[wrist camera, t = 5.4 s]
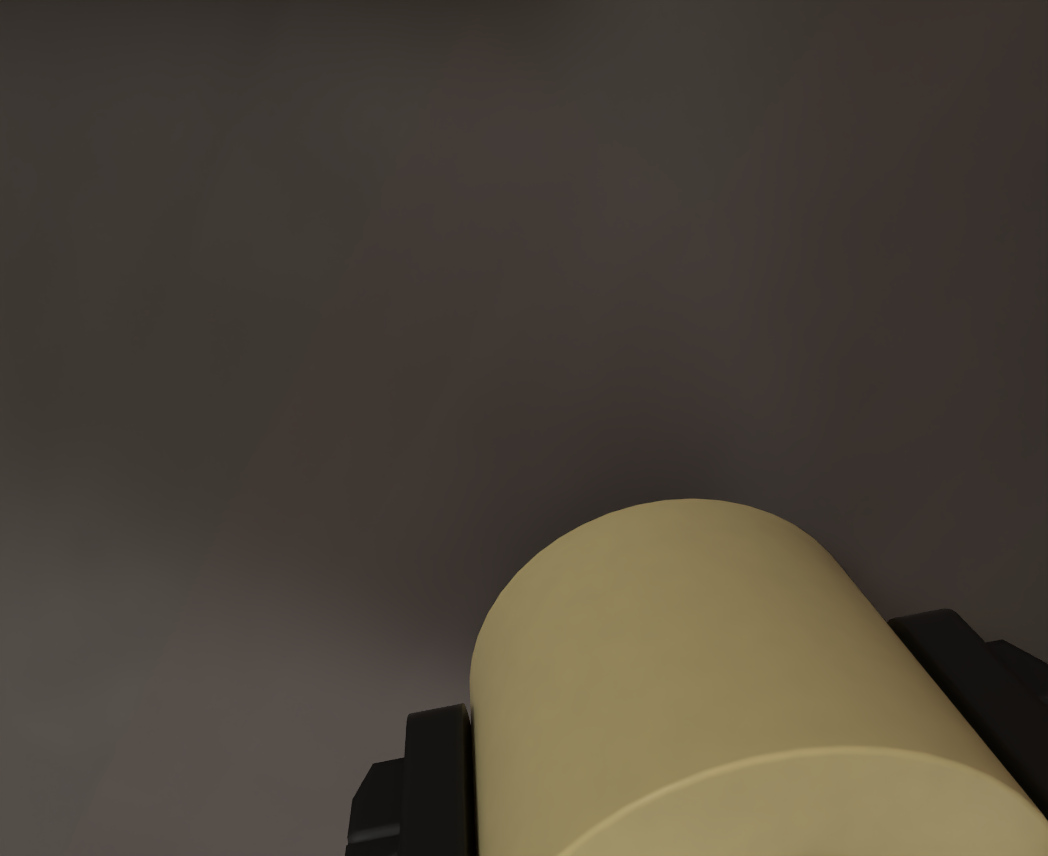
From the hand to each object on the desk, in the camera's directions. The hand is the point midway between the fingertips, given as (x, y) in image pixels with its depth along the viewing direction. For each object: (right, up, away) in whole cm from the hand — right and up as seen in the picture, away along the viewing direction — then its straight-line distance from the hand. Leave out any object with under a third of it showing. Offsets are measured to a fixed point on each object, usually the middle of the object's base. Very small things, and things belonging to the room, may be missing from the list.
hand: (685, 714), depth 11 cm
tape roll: (0, 0, +1) cm, 1 cm away
